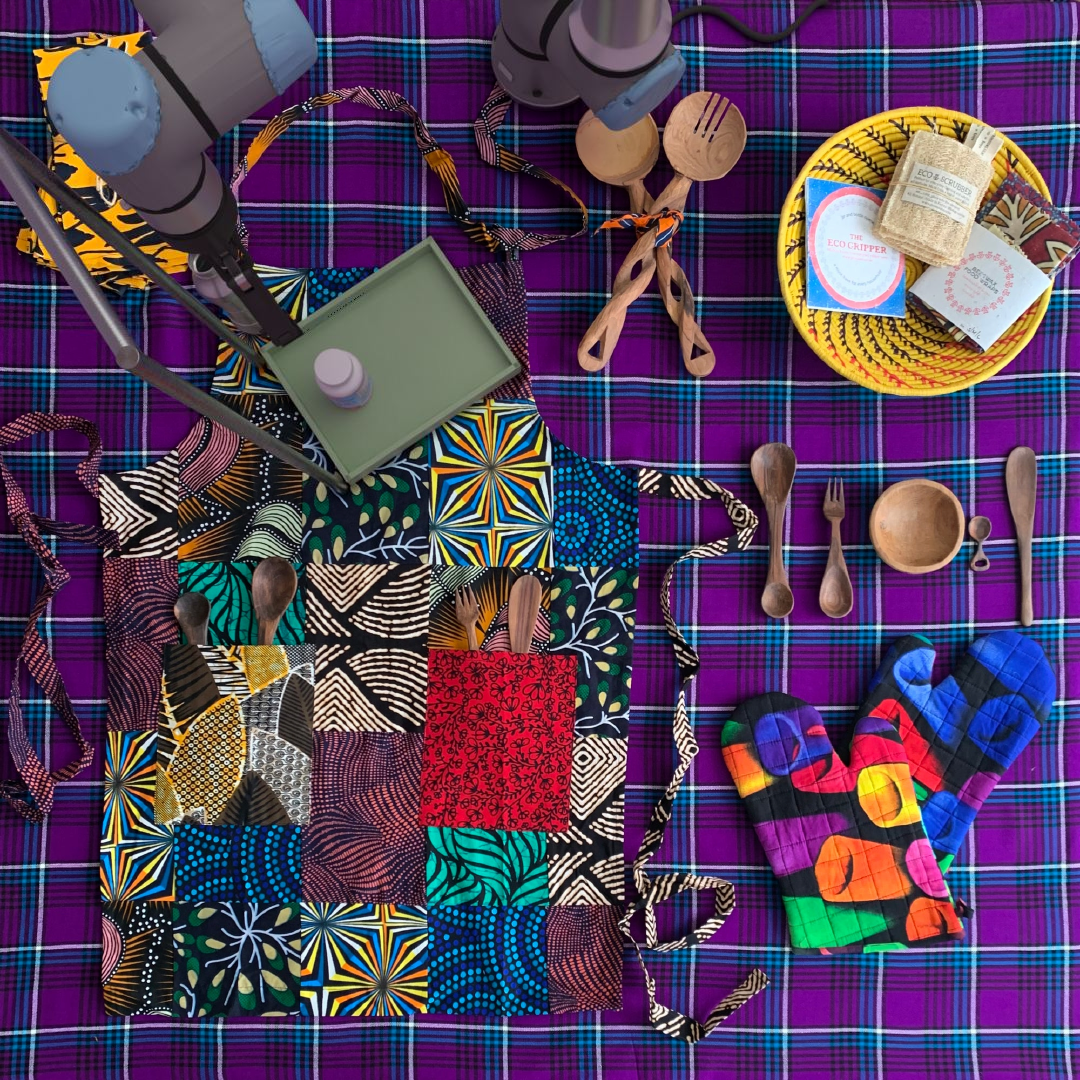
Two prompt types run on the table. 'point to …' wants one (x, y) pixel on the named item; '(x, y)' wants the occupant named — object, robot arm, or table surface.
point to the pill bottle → (343, 379)
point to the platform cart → (306, 338)
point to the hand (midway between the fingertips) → (259, 286)
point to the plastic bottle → (221, 294)
